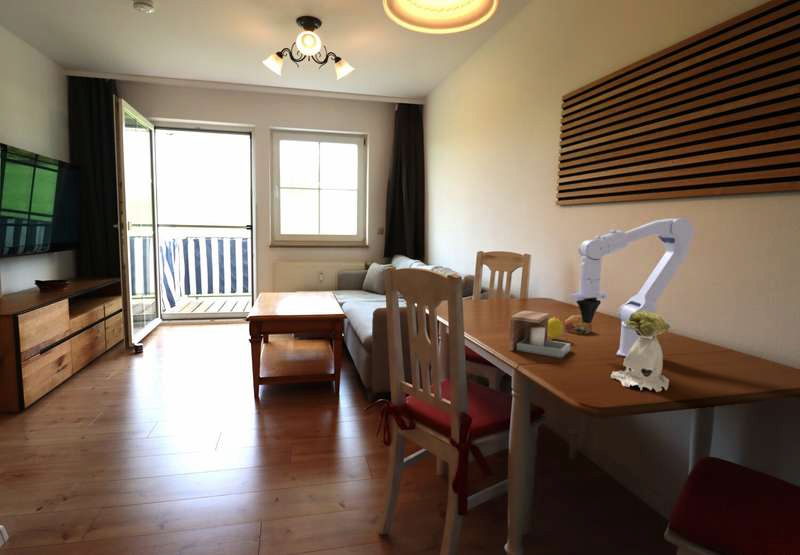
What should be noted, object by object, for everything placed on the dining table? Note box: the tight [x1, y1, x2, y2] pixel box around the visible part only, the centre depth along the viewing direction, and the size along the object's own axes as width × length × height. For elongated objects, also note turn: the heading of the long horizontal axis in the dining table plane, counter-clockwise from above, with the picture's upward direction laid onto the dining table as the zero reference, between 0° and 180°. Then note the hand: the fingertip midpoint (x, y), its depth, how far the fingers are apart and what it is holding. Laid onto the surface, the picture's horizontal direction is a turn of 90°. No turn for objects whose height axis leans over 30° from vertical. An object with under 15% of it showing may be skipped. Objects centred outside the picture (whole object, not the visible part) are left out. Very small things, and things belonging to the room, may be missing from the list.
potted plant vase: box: [610, 311, 671, 393], centre depth 113 cm, size 12×13×18 cm
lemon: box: [548, 316, 564, 340], centre depth 157 cm, size 6×6×8 cm
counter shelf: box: [509, 310, 550, 352], centre depth 144 cm, size 8×12×11 cm
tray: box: [515, 337, 571, 359], centre depth 142 cm, size 14×10×2 cm
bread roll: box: [563, 314, 593, 335], centre depth 171 cm, size 10×10×8 cm
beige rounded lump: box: [530, 326, 545, 347], centre depth 143 cm, size 4×4×6 cm
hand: (586, 322), depth 139 cm, fingers closed
